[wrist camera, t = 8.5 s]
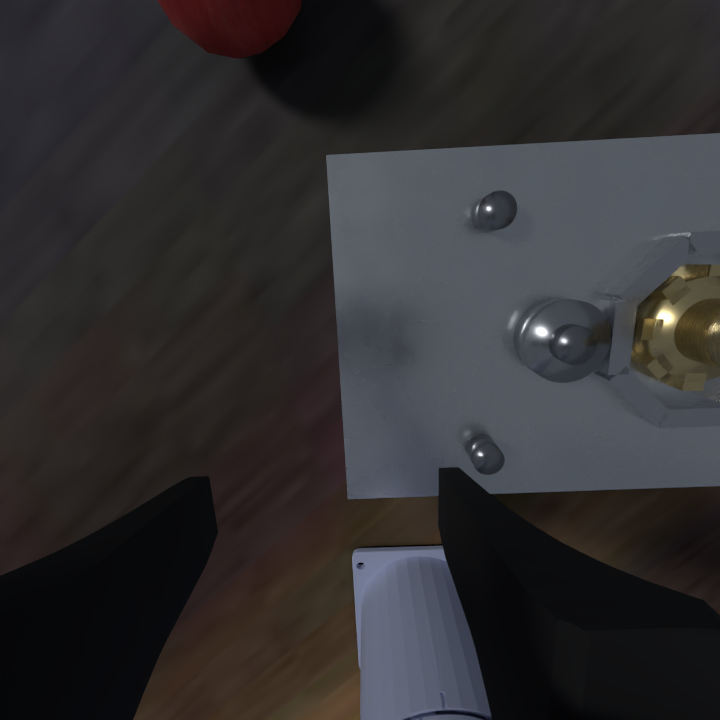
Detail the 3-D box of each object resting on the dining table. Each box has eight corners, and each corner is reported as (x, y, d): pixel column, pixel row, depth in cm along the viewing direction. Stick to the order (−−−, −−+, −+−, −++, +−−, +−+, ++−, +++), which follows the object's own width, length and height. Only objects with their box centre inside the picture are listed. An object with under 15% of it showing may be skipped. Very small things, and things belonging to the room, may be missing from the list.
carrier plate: (734, 475, 22) (796, 510, 19) (348, 489, 23) (345, 525, 20) (808, 134, 18) (904, 106, 15) (328, 160, 18) (320, 139, 15)
